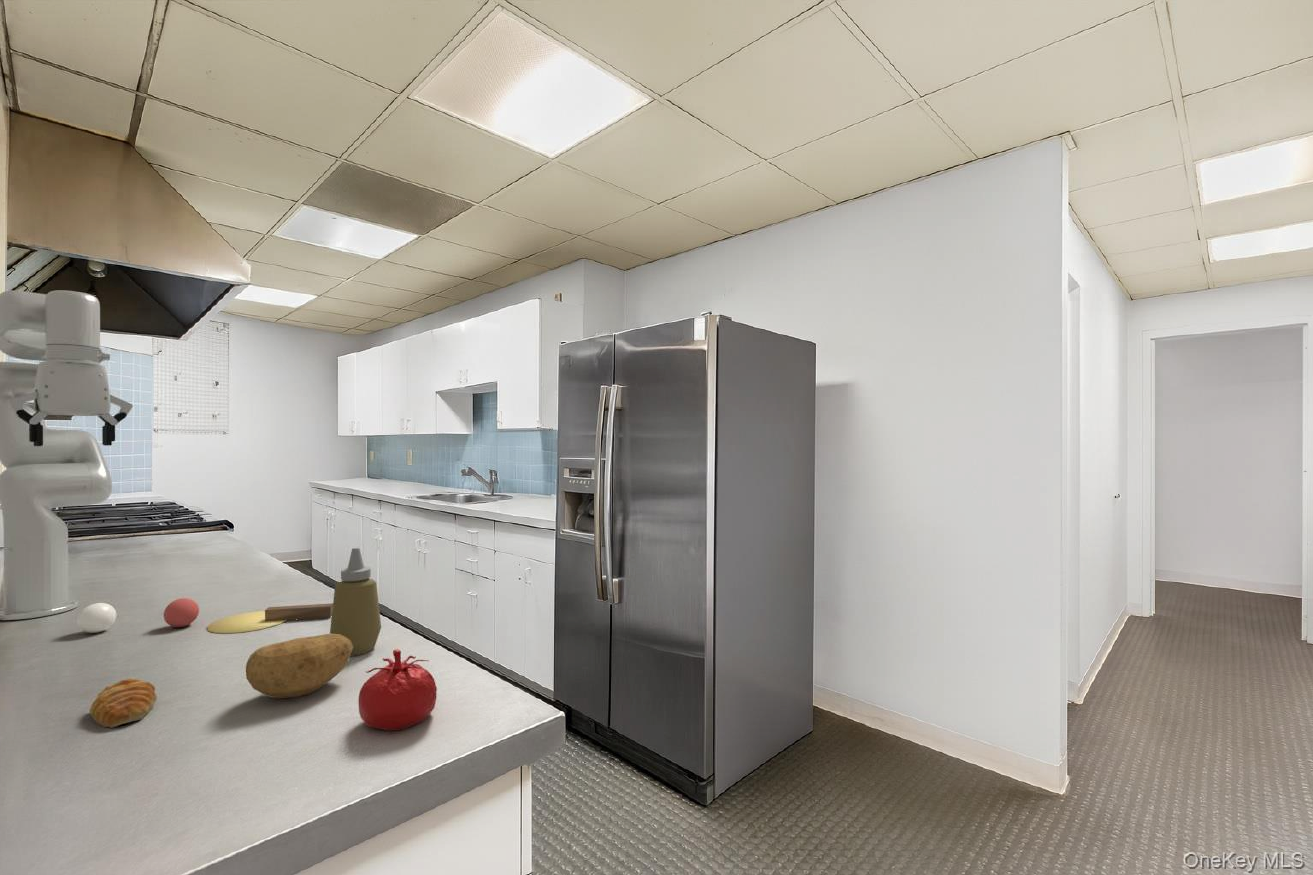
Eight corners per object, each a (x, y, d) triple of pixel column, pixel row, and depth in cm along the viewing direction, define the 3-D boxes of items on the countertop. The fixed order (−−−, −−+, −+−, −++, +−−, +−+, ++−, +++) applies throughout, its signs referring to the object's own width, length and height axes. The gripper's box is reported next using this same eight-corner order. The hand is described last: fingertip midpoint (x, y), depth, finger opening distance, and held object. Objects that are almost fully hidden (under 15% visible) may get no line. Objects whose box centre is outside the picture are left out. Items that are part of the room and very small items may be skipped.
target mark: (193, 625, 118) (193, 624, 118) (269, 608, 130) (269, 607, 130) (227, 638, 110) (227, 637, 110) (304, 618, 122) (304, 617, 122)
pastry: (161, 719, 79) (160, 691, 79) (91, 737, 75) (91, 707, 75) (153, 697, 86) (153, 671, 86) (89, 713, 81) (88, 685, 81)
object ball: (158, 627, 116) (158, 599, 116) (191, 620, 121) (191, 593, 121) (170, 632, 113) (170, 604, 113) (204, 624, 118) (204, 597, 118)
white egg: (72, 633, 113) (72, 604, 113) (110, 625, 118) (110, 598, 118) (82, 638, 110) (82, 609, 110) (121, 630, 115) (121, 602, 115)
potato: (364, 686, 89) (364, 633, 89) (256, 719, 79) (256, 659, 79) (339, 669, 96) (339, 619, 96) (235, 698, 85) (235, 642, 85)
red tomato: (387, 747, 72) (387, 671, 72) (341, 726, 77) (341, 654, 77) (454, 714, 80) (454, 646, 80) (408, 697, 86) (408, 633, 86)
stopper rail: (330, 617, 123) (330, 605, 123) (265, 622, 120) (264, 609, 120) (333, 615, 125) (333, 603, 125) (268, 619, 122) (268, 607, 122)
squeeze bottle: (318, 655, 102) (318, 550, 102) (358, 640, 109) (358, 543, 109) (353, 662, 99) (353, 554, 99) (391, 646, 106) (391, 546, 106)
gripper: (125, 363, 123) (126, 445, 123) (3, 353, 109) (3, 446, 109) (137, 360, 119) (138, 445, 119) (12, 349, 105) (12, 446, 105)
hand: (73, 445), depth 114 cm, fingers open, 9 cm apart
